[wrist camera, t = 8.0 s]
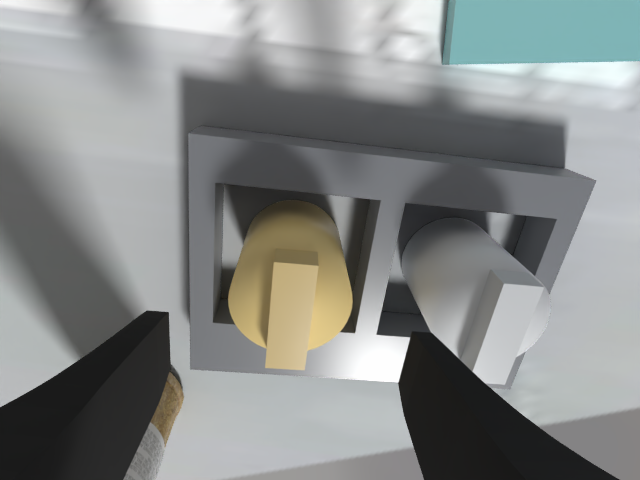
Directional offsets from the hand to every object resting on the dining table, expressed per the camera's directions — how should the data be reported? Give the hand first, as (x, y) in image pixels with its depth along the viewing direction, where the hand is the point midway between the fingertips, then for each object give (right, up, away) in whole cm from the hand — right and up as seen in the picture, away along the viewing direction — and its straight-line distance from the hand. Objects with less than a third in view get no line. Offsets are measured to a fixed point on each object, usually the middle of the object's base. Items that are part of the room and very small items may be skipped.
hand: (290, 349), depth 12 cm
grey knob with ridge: (+7, +2, +7) cm, 11 cm away
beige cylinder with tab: (0, +3, +7) cm, 8 cm away
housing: (+3, +2, +7) cm, 8 cm away
